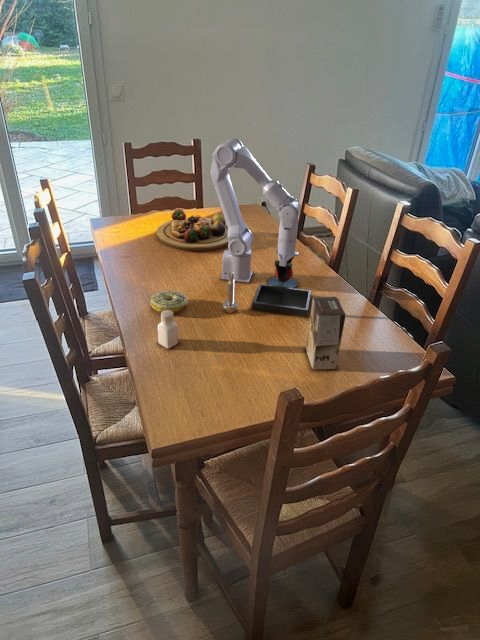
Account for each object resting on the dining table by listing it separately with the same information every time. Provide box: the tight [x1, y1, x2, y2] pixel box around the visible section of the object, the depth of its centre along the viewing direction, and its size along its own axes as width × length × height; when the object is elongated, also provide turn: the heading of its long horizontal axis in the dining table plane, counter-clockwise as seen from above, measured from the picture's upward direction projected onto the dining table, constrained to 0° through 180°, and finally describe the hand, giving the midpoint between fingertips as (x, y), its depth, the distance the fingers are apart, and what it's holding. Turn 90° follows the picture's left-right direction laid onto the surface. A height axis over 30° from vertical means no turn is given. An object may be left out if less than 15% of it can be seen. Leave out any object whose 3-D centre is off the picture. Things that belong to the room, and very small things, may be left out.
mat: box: [267, 275, 298, 289], centre depth 156 cm, size 10×10×1 cm
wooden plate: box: [155, 208, 229, 252], centre depth 186 cm, size 32×32×8 cm
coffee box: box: [305, 296, 347, 370], centre depth 117 cm, size 9×6×16 cm
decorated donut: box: [150, 290, 189, 315], centre depth 139 cm, size 10×11×4 cm
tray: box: [251, 283, 312, 318], centre depth 145 cm, size 17×13×2 cm
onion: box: [274, 266, 294, 283], centre depth 154 cm, size 6×6×8 cm
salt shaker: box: [157, 310, 179, 349], centre depth 122 cm, size 4×4×10 cm
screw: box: [221, 272, 239, 314], centre depth 136 cm, size 13×5×5 cm
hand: (283, 277), depth 155 cm, fingers open, 6 cm apart
